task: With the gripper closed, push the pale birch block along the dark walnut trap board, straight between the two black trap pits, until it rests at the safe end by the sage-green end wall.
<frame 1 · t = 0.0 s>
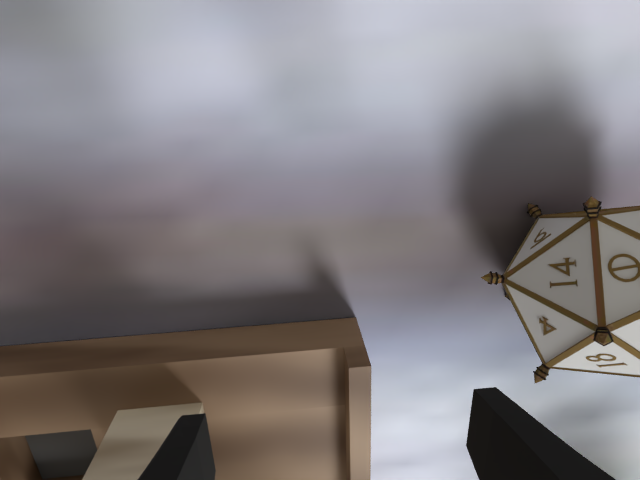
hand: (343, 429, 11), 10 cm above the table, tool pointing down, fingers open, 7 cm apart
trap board: (192, 459, 24), on the table
birch block: (167, 437, 20), point 2 cm above the table, touching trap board
game die: (541, 251, 21), on the table
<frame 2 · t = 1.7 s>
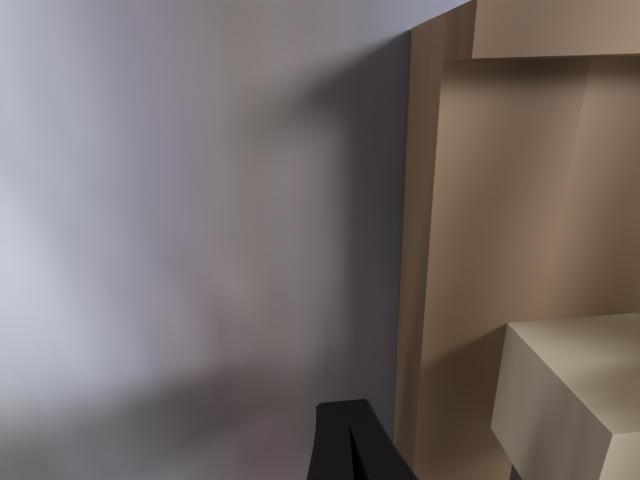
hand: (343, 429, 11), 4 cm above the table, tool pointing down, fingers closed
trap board: (631, 319, 15), on the table
birch block: (560, 372, 12), point 2 cm above the table, touching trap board
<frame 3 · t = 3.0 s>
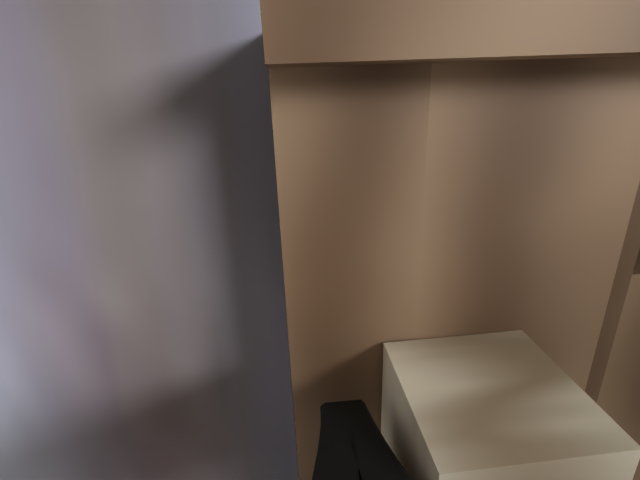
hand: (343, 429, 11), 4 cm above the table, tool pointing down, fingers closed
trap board: (539, 332, 14), on the table
birch block: (447, 393, 12), point 3 cm above the table, touching gripper
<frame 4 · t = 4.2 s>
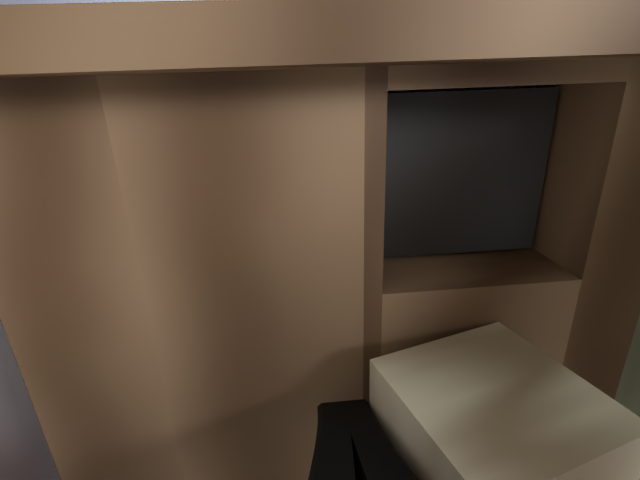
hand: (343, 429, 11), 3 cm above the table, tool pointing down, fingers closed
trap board: (349, 349, 14), on the table
birch block: (433, 399, 11), point 3 cm above the table, tilted 16°, touching gripper
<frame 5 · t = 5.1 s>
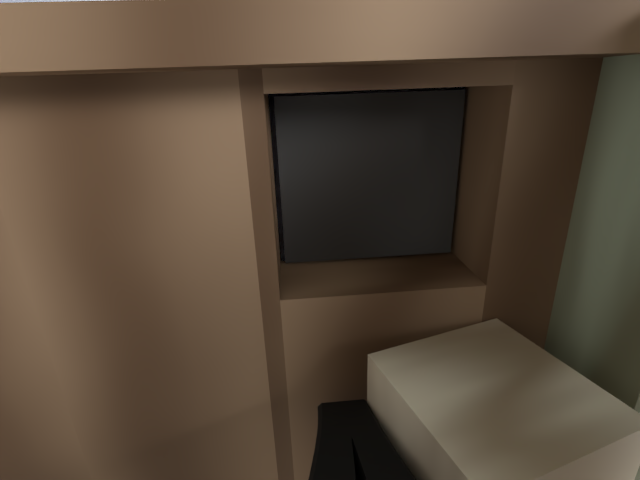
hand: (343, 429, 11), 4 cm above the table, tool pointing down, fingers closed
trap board: (273, 353, 14), on the table
birch block: (430, 395, 11), point 3 cm above the table, tilted 16°, touching gripper, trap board
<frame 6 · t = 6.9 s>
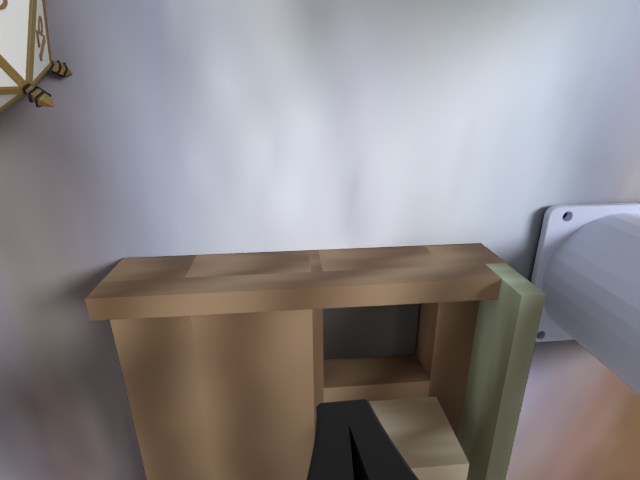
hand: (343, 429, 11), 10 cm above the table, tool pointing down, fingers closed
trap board: (311, 406, 24), on the table
birch block: (396, 428, 21), point 2 cm above the table, touching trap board
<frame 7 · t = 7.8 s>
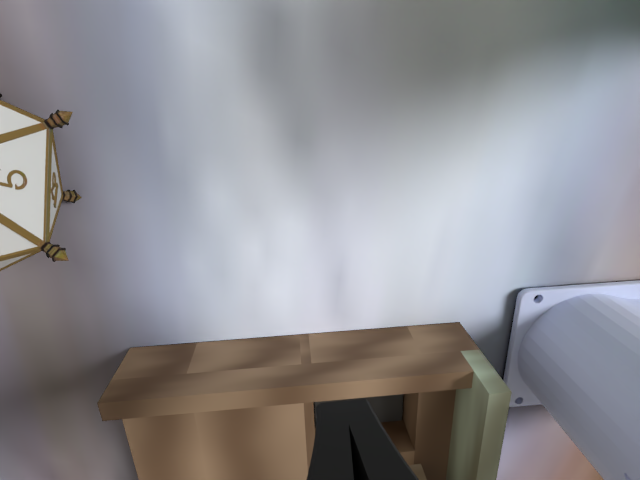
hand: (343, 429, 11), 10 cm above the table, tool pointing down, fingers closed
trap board: (307, 467, 25), on the table
game die: (15, 160, 18), on the table
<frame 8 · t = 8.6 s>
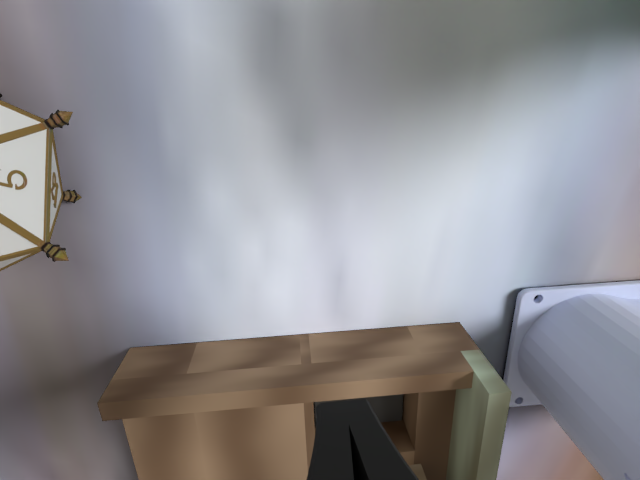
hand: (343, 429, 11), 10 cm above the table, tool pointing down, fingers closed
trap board: (307, 467, 25), on the table
game die: (15, 160, 18), on the table
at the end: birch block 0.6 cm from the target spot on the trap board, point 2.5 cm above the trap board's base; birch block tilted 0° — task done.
